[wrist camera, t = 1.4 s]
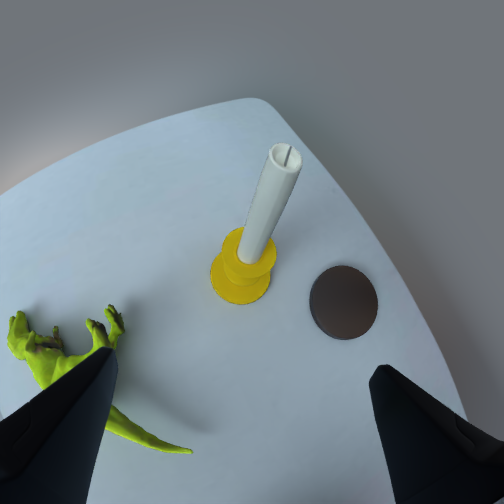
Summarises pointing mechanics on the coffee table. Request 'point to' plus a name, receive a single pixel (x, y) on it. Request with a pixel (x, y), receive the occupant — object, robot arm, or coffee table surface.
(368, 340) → the coffee table surface
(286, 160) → the candle
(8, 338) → the dinosaur figurine
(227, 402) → the coffee table surface
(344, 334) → the coaster
